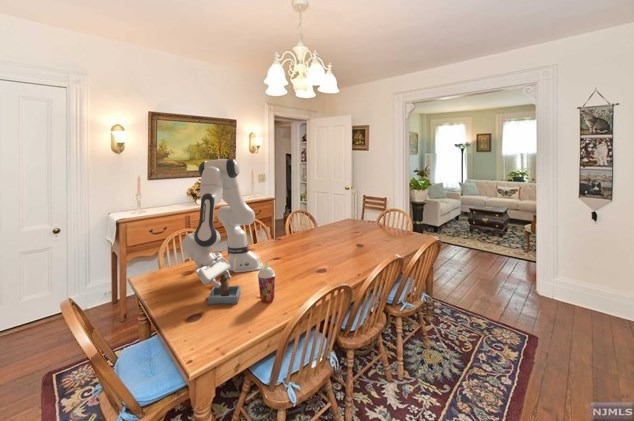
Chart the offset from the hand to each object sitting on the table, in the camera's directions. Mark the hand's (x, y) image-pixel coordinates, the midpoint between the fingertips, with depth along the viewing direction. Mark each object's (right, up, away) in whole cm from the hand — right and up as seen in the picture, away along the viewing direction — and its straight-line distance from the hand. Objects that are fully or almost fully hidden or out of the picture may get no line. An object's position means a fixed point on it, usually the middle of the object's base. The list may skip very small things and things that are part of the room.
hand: (225, 282), depth 155 cm
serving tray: (-1, -8, +2) cm, 9 cm away
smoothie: (+21, -9, 0) cm, 23 cm away
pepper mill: (-1, -8, +2) cm, 8 cm away
